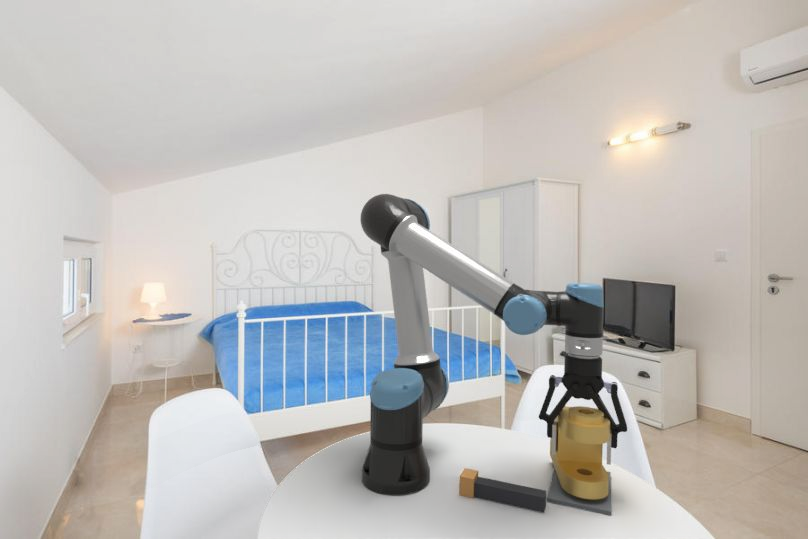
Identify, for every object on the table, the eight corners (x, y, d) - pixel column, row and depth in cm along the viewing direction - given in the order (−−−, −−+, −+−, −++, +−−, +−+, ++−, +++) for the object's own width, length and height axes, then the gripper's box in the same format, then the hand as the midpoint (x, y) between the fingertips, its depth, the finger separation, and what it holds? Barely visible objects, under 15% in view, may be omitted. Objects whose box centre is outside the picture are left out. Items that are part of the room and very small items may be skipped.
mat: (546, 501, 93) (546, 497, 93) (555, 465, 110) (555, 462, 110) (611, 515, 89) (611, 511, 89) (610, 475, 105) (610, 472, 105)
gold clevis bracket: (613, 501, 90) (616, 421, 90) (565, 497, 92) (567, 417, 91) (589, 457, 110) (591, 391, 110) (549, 454, 111) (551, 389, 111)
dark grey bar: (459, 495, 96) (459, 476, 96) (464, 486, 99) (464, 468, 99) (543, 514, 89) (544, 493, 89) (546, 504, 92) (546, 484, 92)
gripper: (526, 353, 100) (524, 453, 100) (644, 364, 90) (641, 475, 91) (531, 347, 107) (529, 441, 107) (641, 356, 97) (638, 460, 98)
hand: (580, 457), depth 99 cm, fingers closed on gold clevis bracket, 10 cm apart
